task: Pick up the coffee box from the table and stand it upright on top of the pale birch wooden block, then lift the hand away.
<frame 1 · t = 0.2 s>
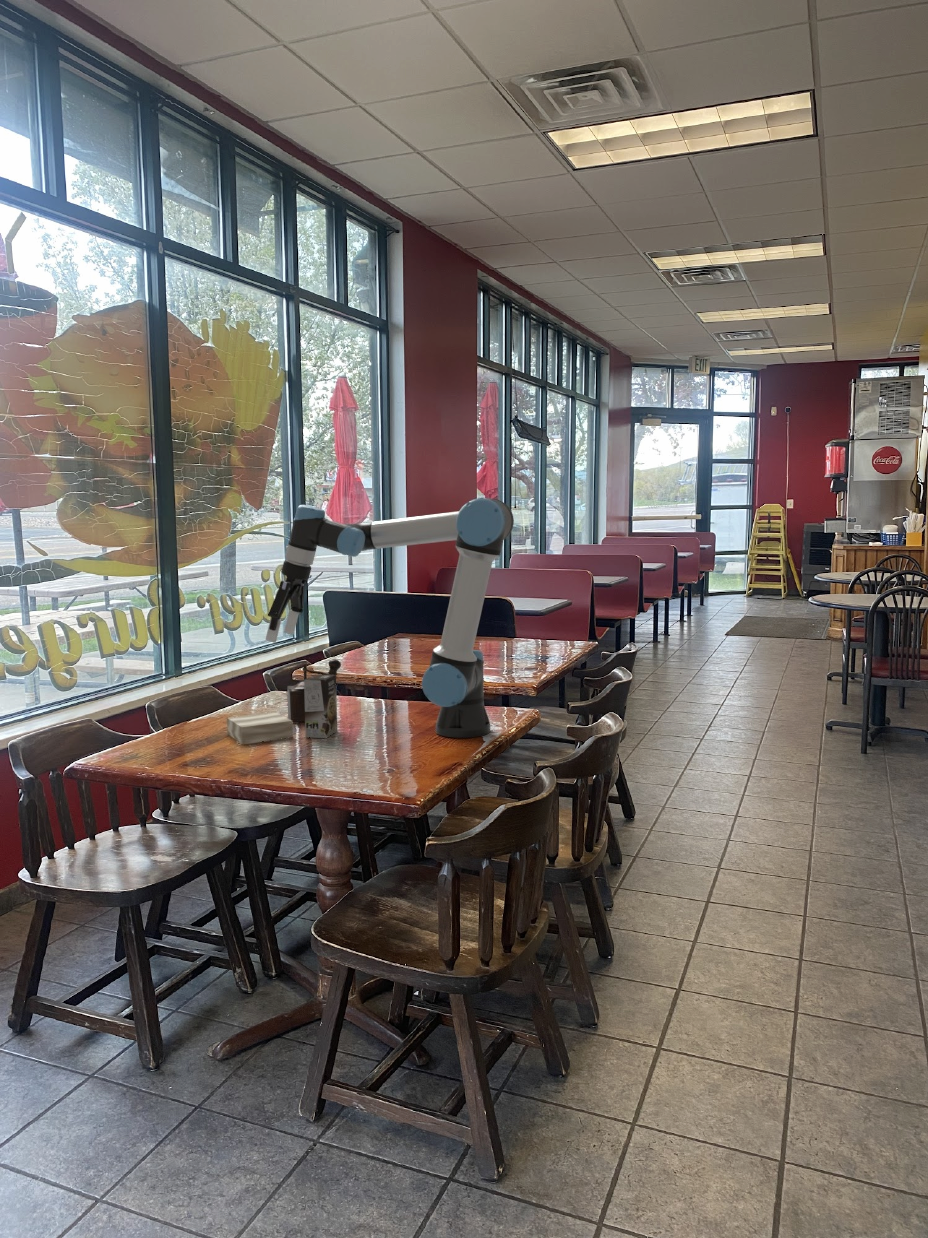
hand: (279, 637, 246), 27 cm above the table, tool tilted 15°, fingers open, 13 cm apart
birch block: (260, 737, 249), on the table
coffee box: (322, 735, 250), on the table
coffee grinder: (315, 718, 271), on the table
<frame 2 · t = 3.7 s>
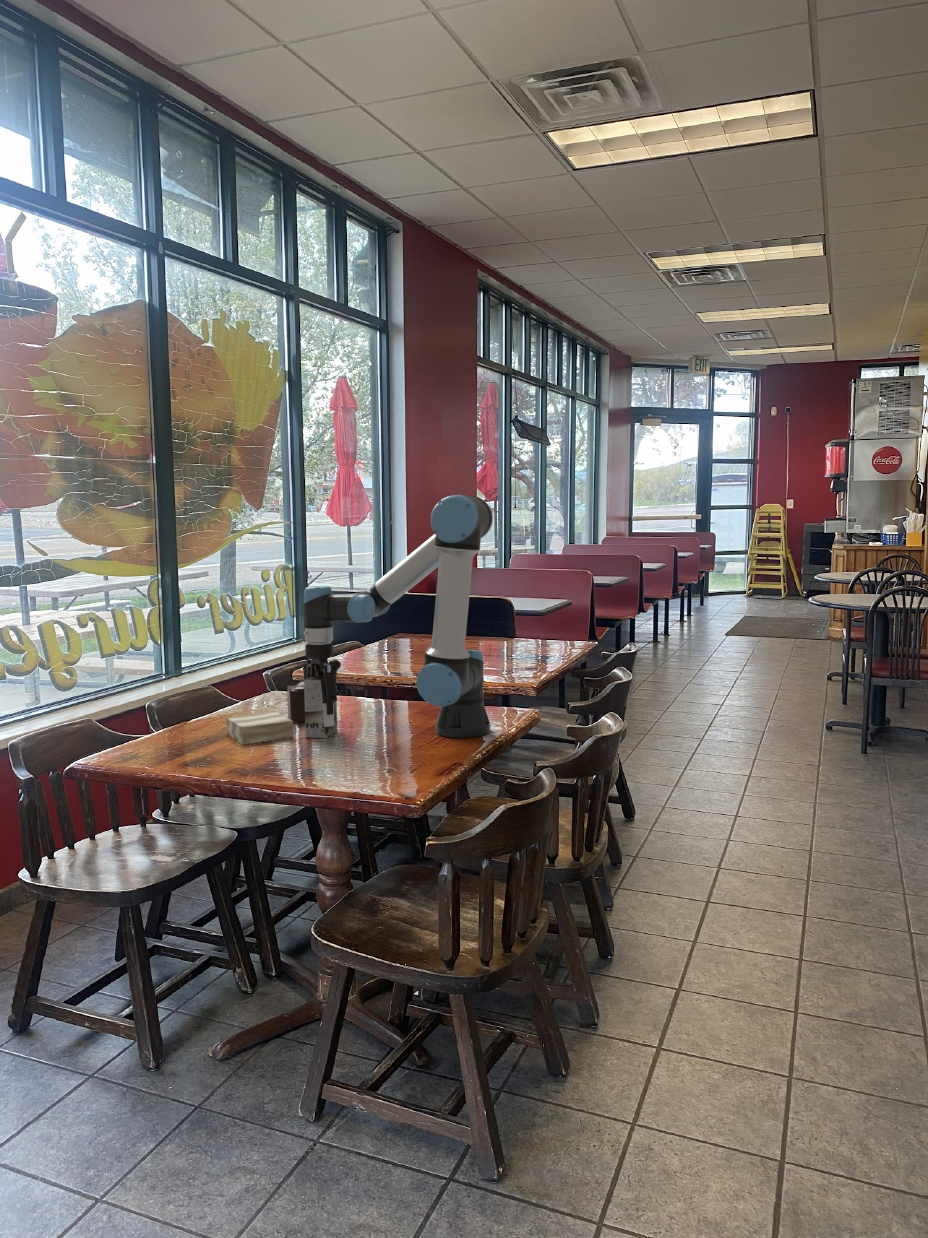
hand: (321, 722, 249), 3 cm above the table, tool pointing down, fingers closed on coffee box, 10 cm apart
coffee box: (321, 735, 250), on the table, touching gripper
everything else where it was.
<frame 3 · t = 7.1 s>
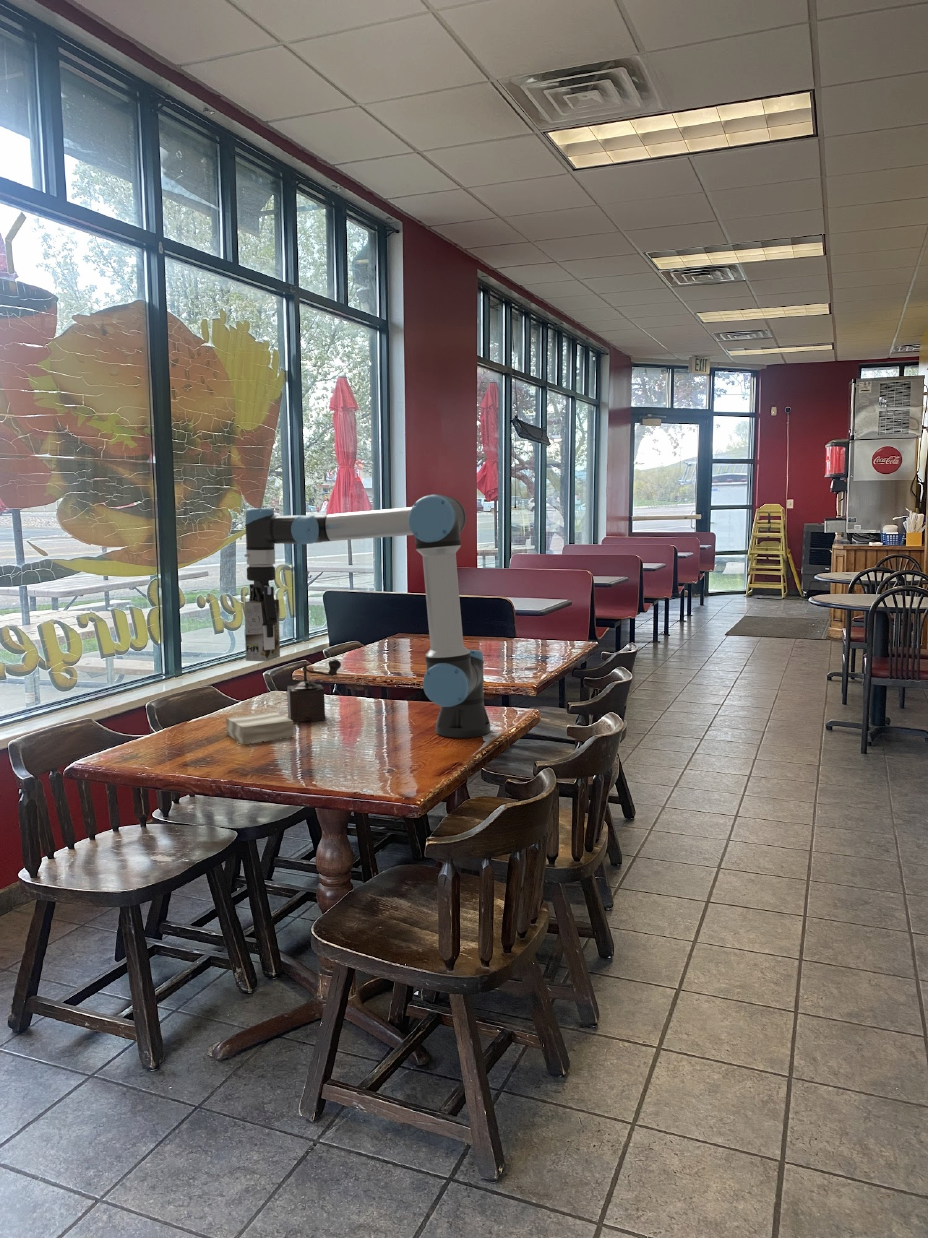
hand: (262, 646, 247), 25 cm above the table, tool pointing down, fingers closed on coffee box, 10 cm apart
coffee box: (263, 659, 247), point 21 cm above the table, touching gripper
everything else where it was.
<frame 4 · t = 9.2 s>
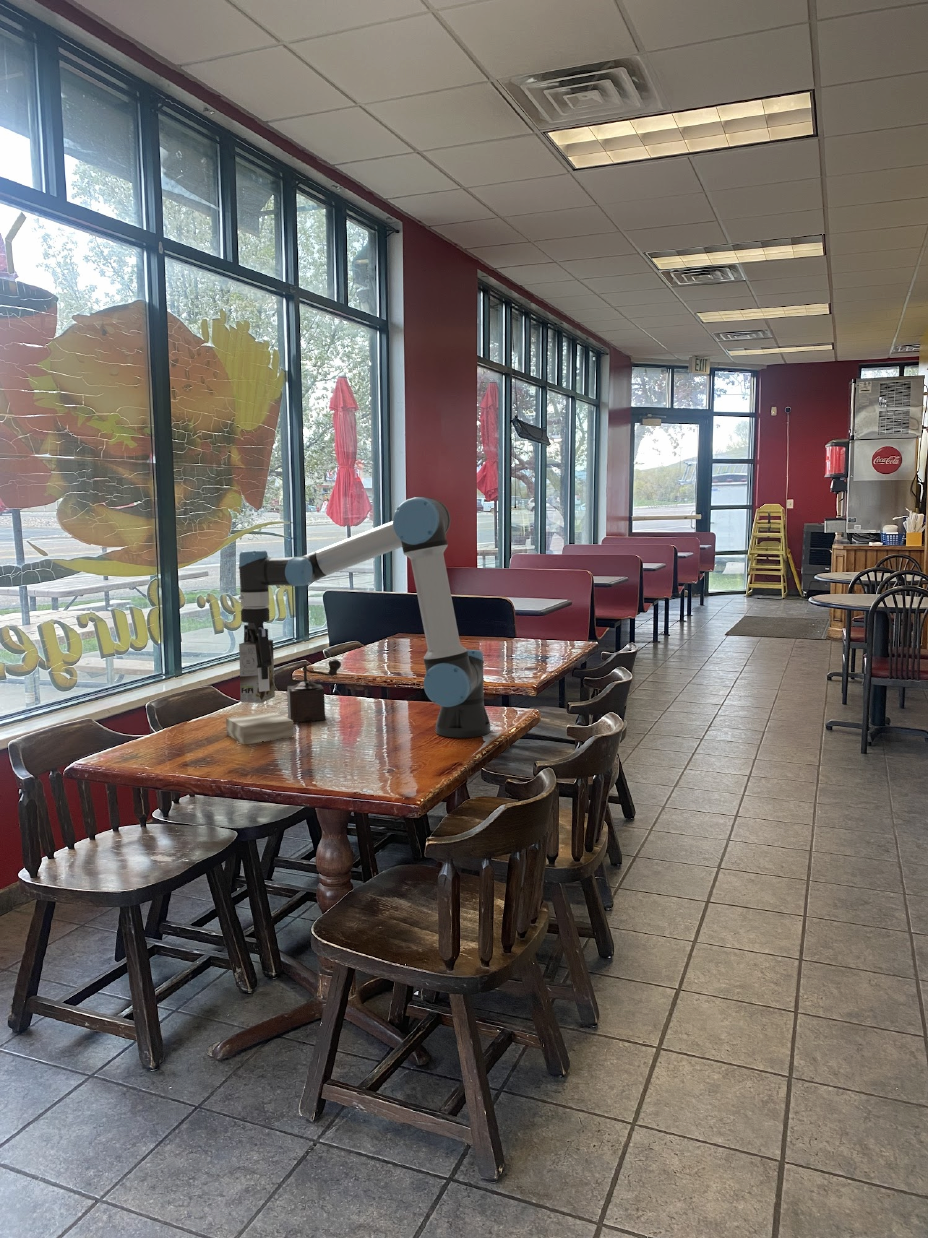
hand: (257, 687, 248), 13 cm above the table, tool pointing down, fingers closed on coffee box, 10 cm apart
coffee box: (258, 700, 248), point 10 cm above the table, touching gripper
everything else where it was.
when the fingers open (10 cm above the table, at t = 10.9 s): coffee box drops 2 cm, resting on birch block.
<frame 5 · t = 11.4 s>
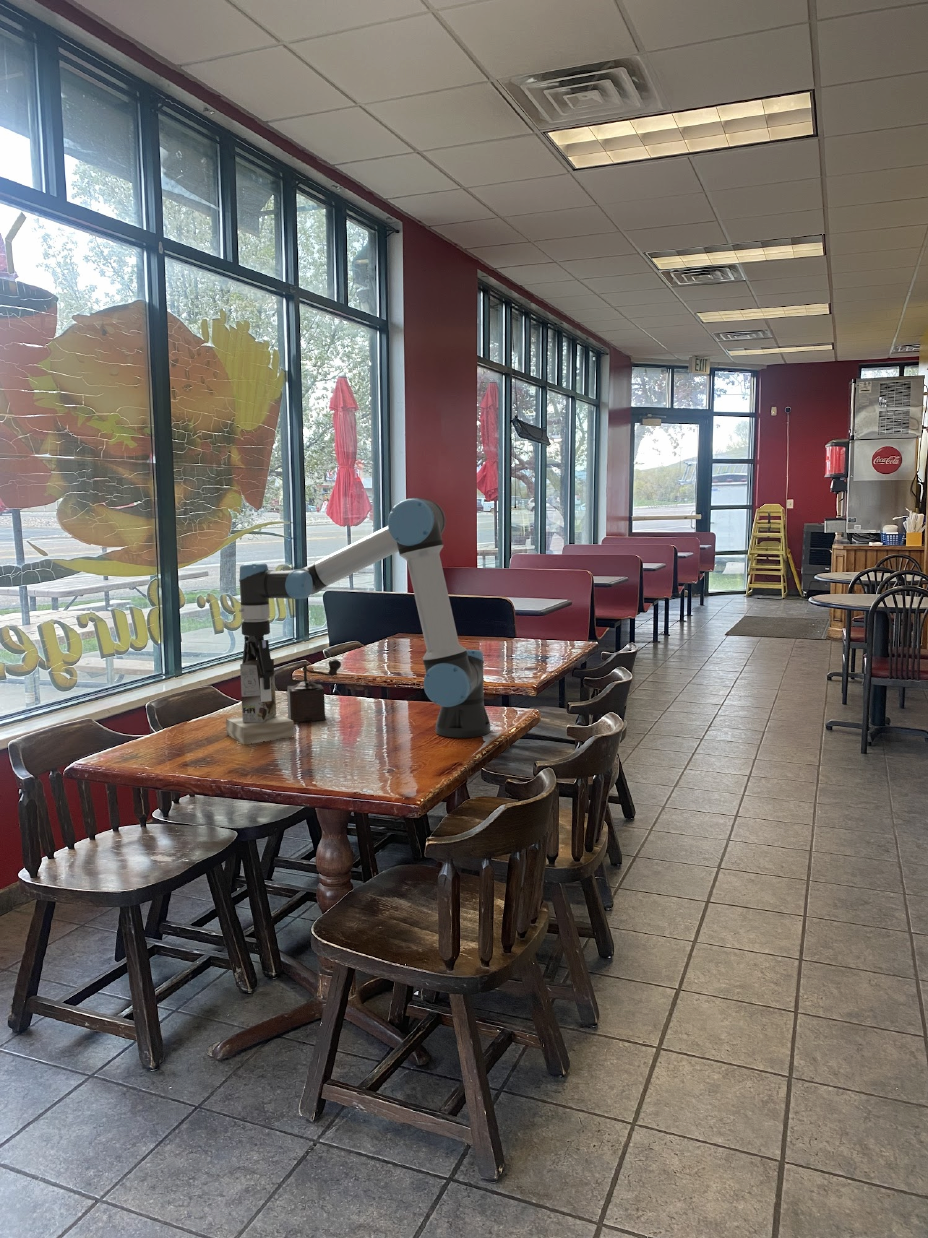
hand: (258, 697, 248), 11 cm above the table, tool pointing down, fingers open, 13 cm apart
birch block: (260, 737, 249), on the table, touching coffee box
coffee box: (260, 719, 249), point 4 cm above the table, touching birch block
everything else where it was.
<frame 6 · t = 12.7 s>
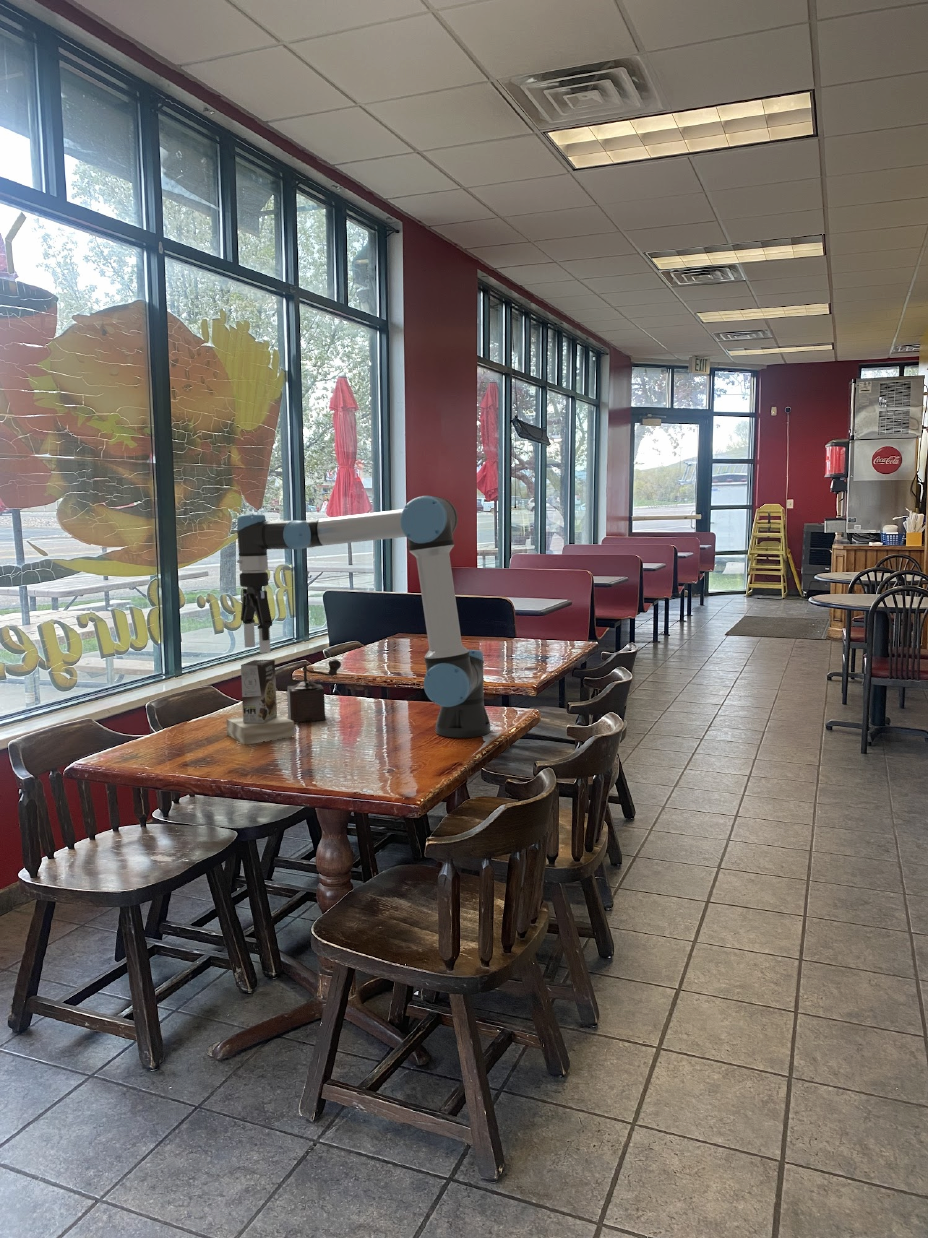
hand: (257, 649, 247), 24 cm above the table, tool pointing down, fingers open, 13 cm apart
nothing on the table moved.
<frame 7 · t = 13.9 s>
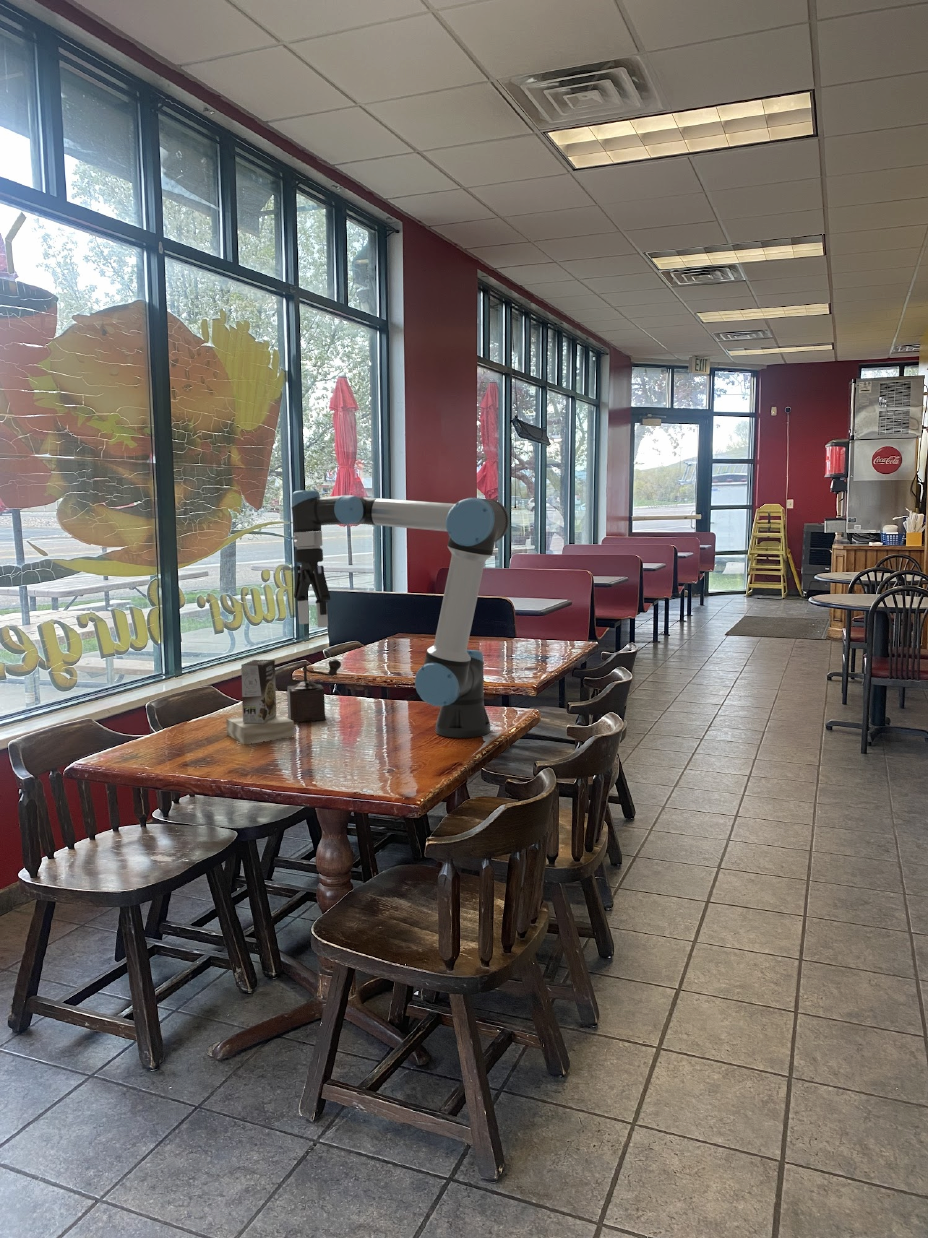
hand: (313, 625, 248), 30 cm above the table, tool pointing down, fingers open, 13 cm apart
birch block: (260, 737, 249), on the table
coffee box: (260, 720, 248), point 4 cm above the table
everything else where it was.
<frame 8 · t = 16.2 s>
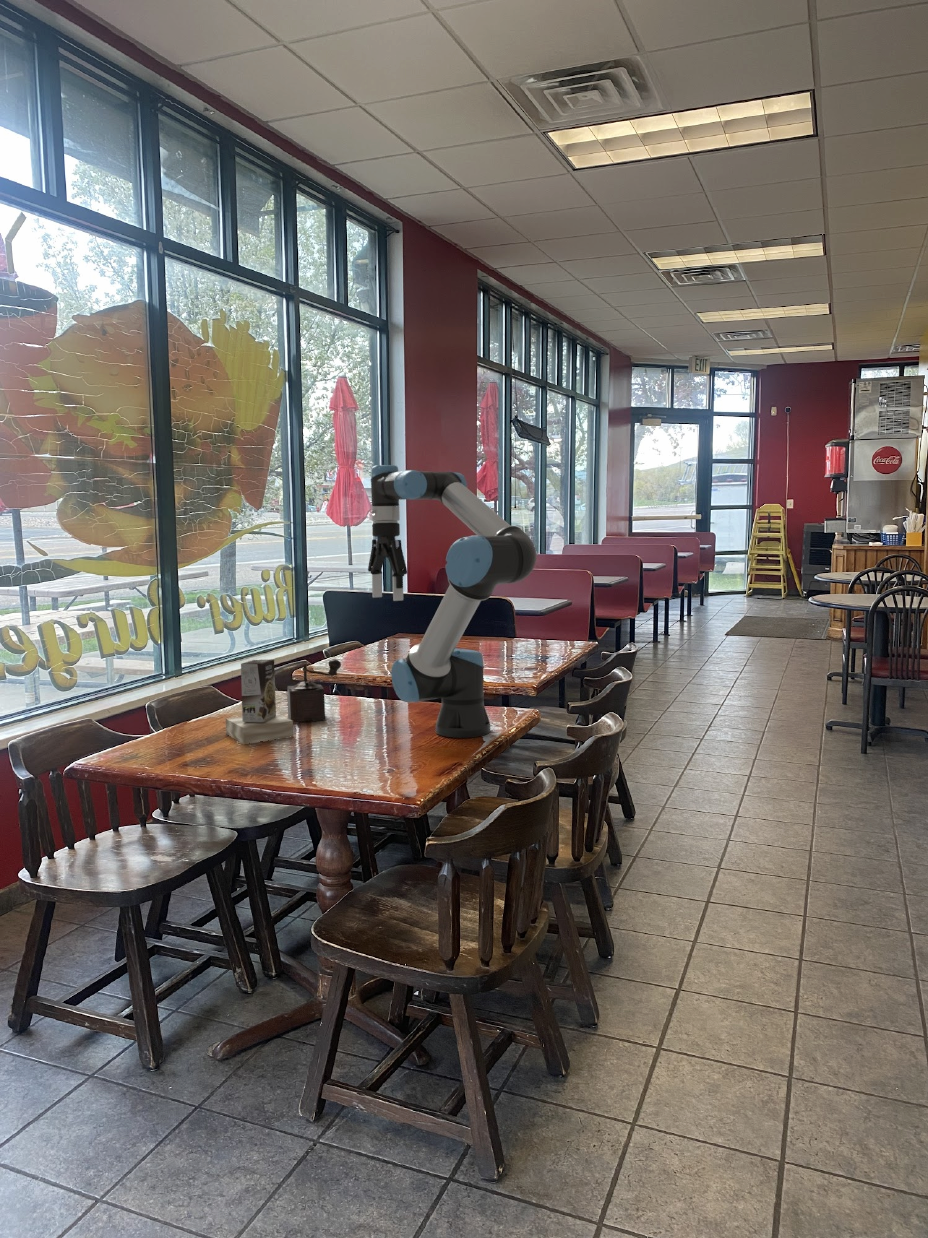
hand: (387, 598, 252), 37 cm above the table, tool pointing down, fingers open, 13 cm apart
birch block: (259, 737, 250), on the table, touching coffee box
coffee box: (259, 720, 249), point 4 cm above the table, touching birch block
everything else where it was.
at the end: coffee box inside the target area on the birch block (0.3 cm from its centre), point 4.9 cm above the birch block's base; coffee box tilted 1°; the gripper is holding nothing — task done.
